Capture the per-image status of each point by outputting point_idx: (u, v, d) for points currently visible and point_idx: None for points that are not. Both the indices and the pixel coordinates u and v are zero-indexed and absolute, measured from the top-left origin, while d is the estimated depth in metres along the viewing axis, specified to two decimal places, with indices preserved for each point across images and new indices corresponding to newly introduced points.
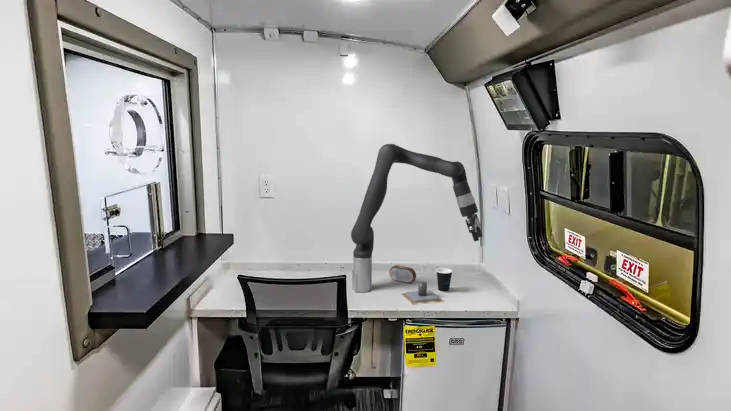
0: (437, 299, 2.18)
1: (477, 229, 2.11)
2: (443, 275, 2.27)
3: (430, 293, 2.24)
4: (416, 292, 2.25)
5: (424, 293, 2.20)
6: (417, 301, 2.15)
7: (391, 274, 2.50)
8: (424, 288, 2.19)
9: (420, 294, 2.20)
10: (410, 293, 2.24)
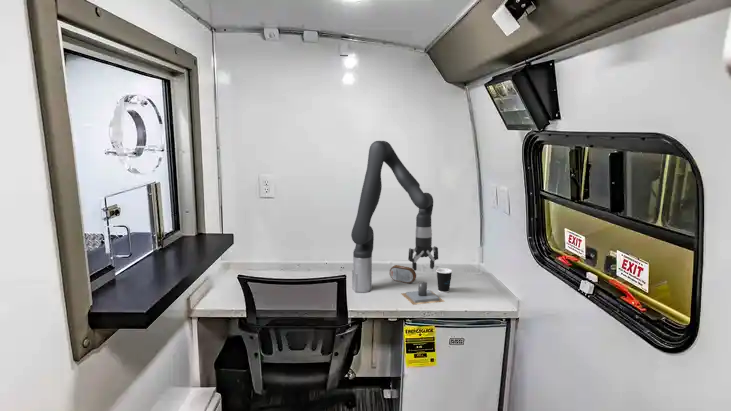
0: (437, 299, 2.18)
1: (431, 260, 2.21)
2: (443, 275, 2.27)
3: (430, 293, 2.24)
4: (416, 292, 2.25)
5: (424, 293, 2.20)
6: (417, 301, 2.15)
7: (391, 274, 2.50)
8: (424, 288, 2.19)
9: (420, 294, 2.20)
10: (410, 293, 2.24)
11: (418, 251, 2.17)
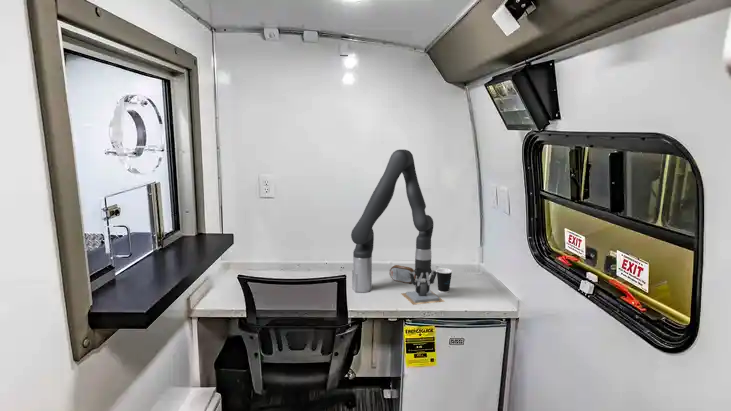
0: (437, 299, 2.18)
1: None
2: (443, 275, 2.27)
3: (430, 293, 2.24)
4: (416, 292, 2.25)
5: (424, 293, 2.20)
6: (417, 301, 2.15)
7: (391, 274, 2.50)
8: (424, 288, 2.19)
9: (420, 294, 2.20)
10: (410, 293, 2.24)
11: (418, 274, 2.18)
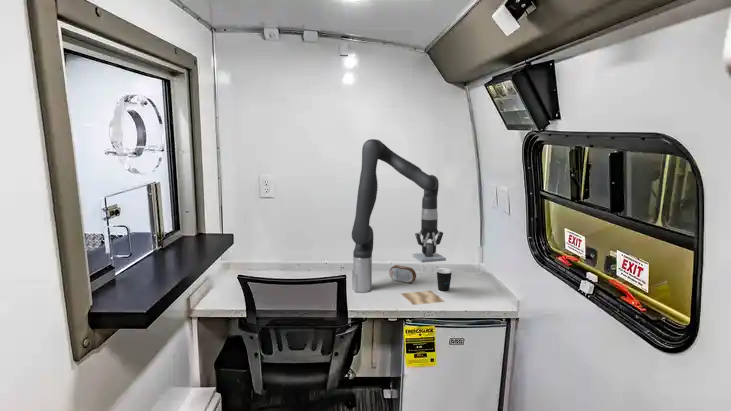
0: (444, 259, 2.17)
1: None
2: (443, 275, 2.27)
3: (437, 254, 2.23)
4: (422, 254, 2.25)
5: (430, 254, 2.19)
6: (423, 261, 2.14)
7: (391, 274, 2.50)
8: (430, 249, 2.19)
9: (426, 255, 2.19)
10: (416, 254, 2.23)
11: (424, 234, 2.18)
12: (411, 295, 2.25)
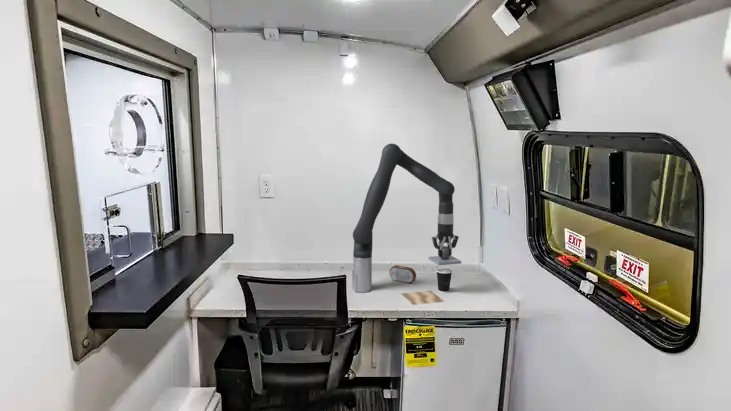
0: (459, 262, 2.25)
1: None
2: (443, 275, 2.27)
3: (452, 257, 2.31)
4: (438, 257, 2.33)
5: (446, 257, 2.27)
6: (440, 264, 2.22)
7: (391, 274, 2.50)
8: (446, 252, 2.27)
9: (443, 258, 2.27)
10: (432, 257, 2.31)
11: (440, 238, 2.26)
12: (411, 295, 2.25)
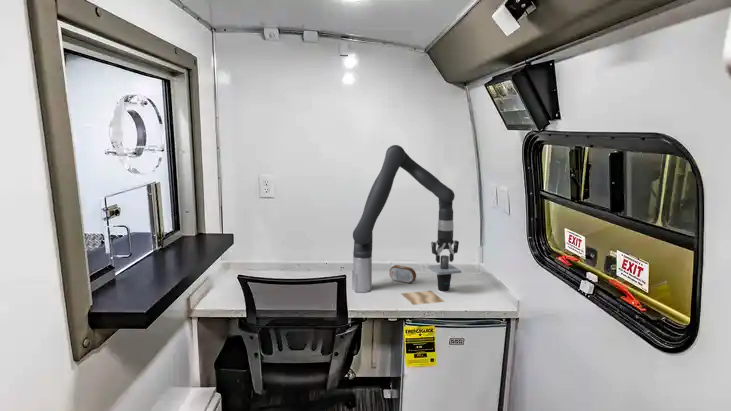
0: (459, 272, 2.26)
1: (450, 254, 2.30)
2: (443, 275, 2.27)
3: (452, 266, 2.32)
4: (438, 266, 2.33)
5: (446, 266, 2.28)
6: (440, 273, 2.23)
7: (391, 274, 2.50)
8: (446, 261, 2.27)
9: (442, 267, 2.28)
10: (432, 266, 2.32)
11: (440, 244, 2.26)
12: (411, 295, 2.25)
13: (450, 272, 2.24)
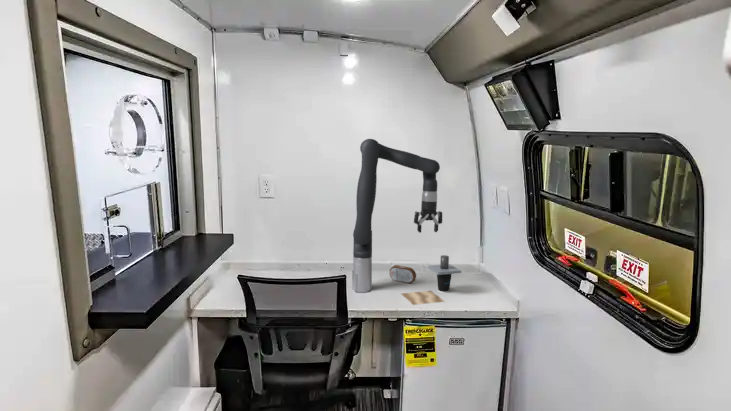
0: (459, 272, 2.26)
1: (435, 224, 2.34)
2: (443, 275, 2.27)
3: (451, 267, 2.32)
4: (438, 266, 2.33)
5: (446, 266, 2.28)
6: (440, 273, 2.23)
7: (391, 274, 2.50)
8: (446, 261, 2.27)
9: (442, 267, 2.28)
10: (432, 266, 2.32)
11: (423, 214, 2.30)
12: (411, 295, 2.25)
13: (450, 272, 2.24)
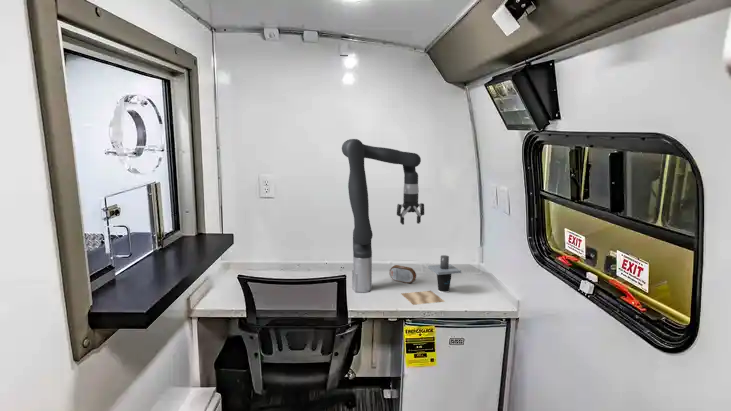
0: (459, 272, 2.26)
1: (417, 216, 2.40)
2: (443, 275, 2.27)
3: (452, 267, 2.32)
4: (438, 266, 2.33)
5: (446, 266, 2.28)
6: (440, 273, 2.23)
7: (391, 274, 2.50)
8: (446, 261, 2.27)
9: (442, 267, 2.28)
10: (432, 266, 2.32)
11: (406, 206, 2.36)
12: (411, 295, 2.25)
13: (450, 272, 2.24)
